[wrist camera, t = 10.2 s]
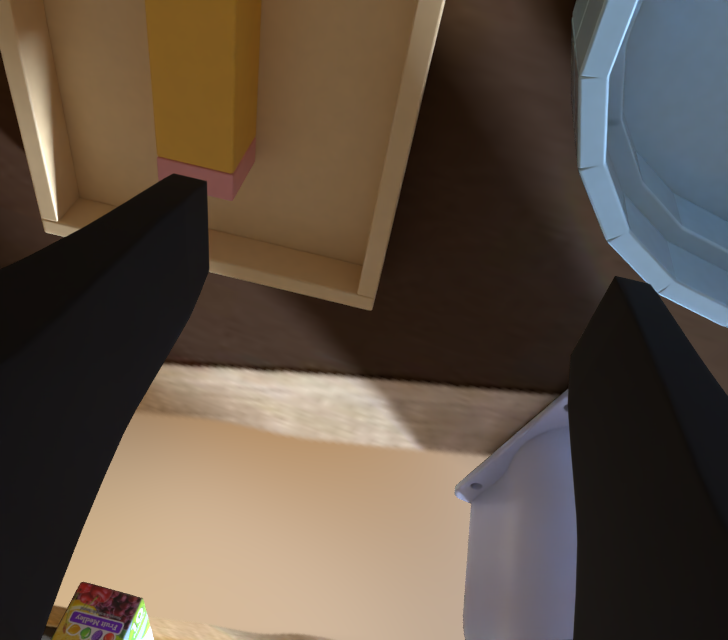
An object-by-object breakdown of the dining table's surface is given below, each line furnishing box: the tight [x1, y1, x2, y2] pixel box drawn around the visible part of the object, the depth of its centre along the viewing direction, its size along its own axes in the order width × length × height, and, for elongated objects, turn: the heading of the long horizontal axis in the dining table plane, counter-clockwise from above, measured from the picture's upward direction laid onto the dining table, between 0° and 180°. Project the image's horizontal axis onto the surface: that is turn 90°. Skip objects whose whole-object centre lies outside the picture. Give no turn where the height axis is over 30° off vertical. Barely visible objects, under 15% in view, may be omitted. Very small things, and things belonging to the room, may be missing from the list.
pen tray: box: [0, 0, 445, 310], centre depth 17 cm, size 16×11×2 cm
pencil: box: [145, 0, 261, 201], centre depth 16 cm, size 10×2×2 cm, turn 171°
